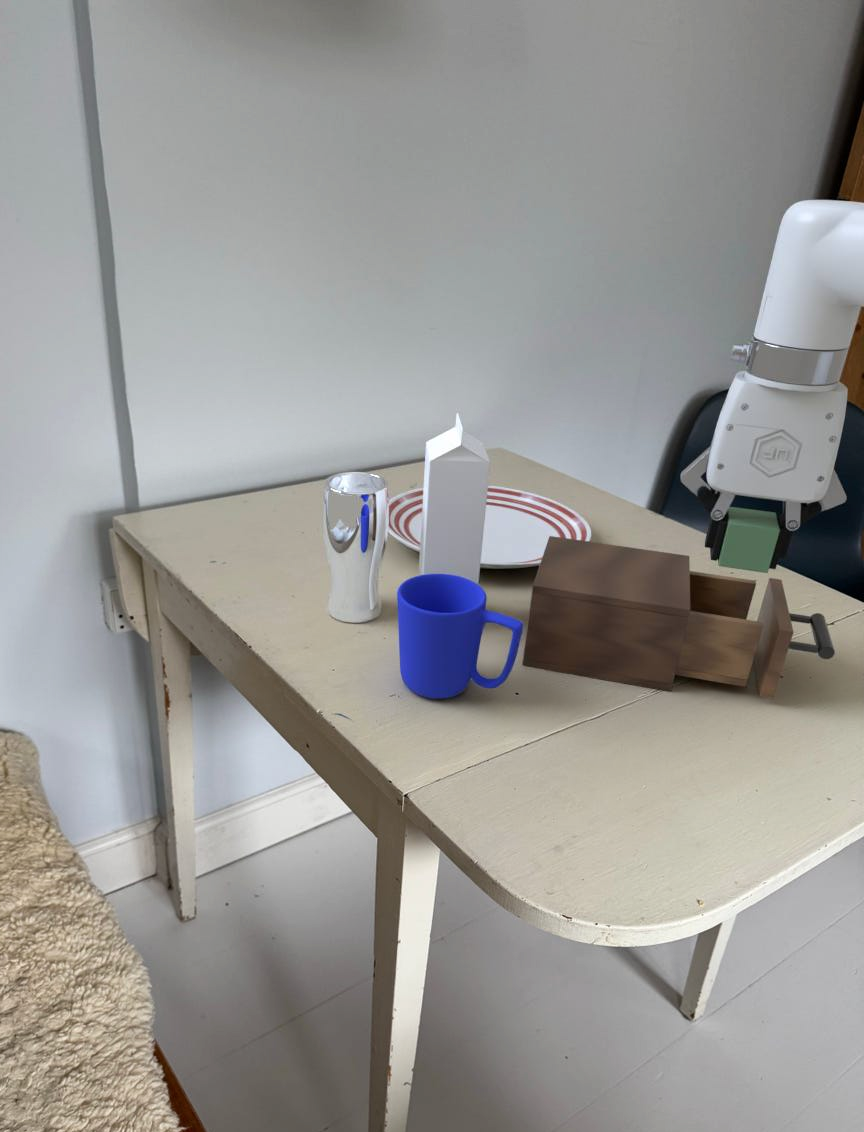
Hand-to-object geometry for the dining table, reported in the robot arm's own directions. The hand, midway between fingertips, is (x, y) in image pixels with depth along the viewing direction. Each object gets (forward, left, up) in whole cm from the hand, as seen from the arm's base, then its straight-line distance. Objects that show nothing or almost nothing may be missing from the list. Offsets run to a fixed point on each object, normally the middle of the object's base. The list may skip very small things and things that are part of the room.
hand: (742, 557), depth 83 cm
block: (0, 0, 0) cm, 0 cm away
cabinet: (+11, 0, -12) cm, 17 cm away
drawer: (-1, 0, -11) cm, 11 cm away
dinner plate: (+28, -23, -13) cm, 39 cm away
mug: (+24, +13, -13) cm, 30 cm away
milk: (+29, -1, -13) cm, 31 cm away
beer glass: (+38, +1, -13) cm, 40 cm away
